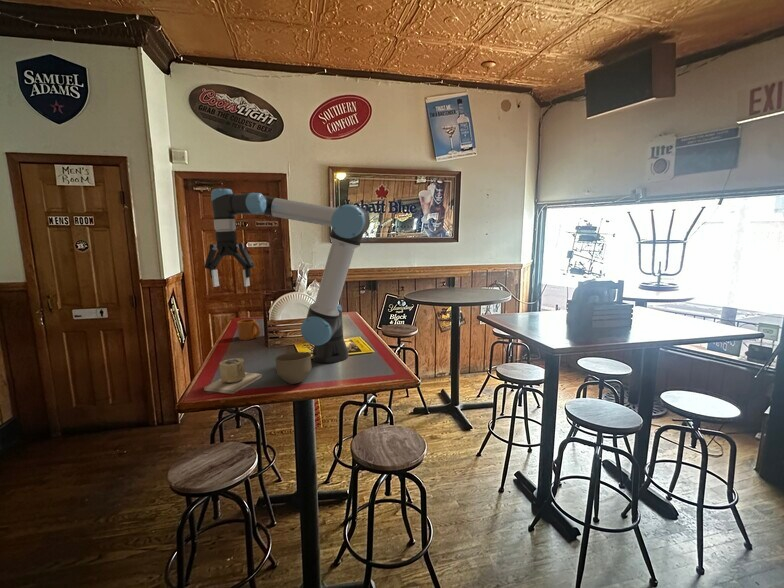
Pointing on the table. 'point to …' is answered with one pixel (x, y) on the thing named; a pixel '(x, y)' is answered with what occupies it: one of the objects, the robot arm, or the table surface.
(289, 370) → the bowl
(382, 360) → the table surface
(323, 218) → the robot arm
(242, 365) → the collar
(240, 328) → the mug
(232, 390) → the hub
